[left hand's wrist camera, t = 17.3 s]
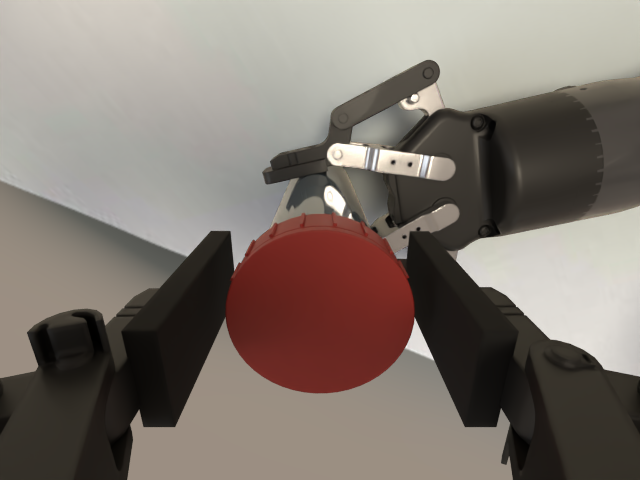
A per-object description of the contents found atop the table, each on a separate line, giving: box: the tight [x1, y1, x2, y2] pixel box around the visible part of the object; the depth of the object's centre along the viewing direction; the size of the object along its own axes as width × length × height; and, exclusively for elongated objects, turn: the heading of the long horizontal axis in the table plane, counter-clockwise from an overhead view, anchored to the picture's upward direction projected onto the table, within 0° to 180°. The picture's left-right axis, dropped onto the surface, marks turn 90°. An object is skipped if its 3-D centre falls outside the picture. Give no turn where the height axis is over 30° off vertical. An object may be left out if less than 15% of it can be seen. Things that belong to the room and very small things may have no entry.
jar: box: [269, 165, 371, 229], centre depth 19 cm, size 5×5×18 cm
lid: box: [225, 212, 415, 393], centre depth 11 cm, size 6×6×2 cm
